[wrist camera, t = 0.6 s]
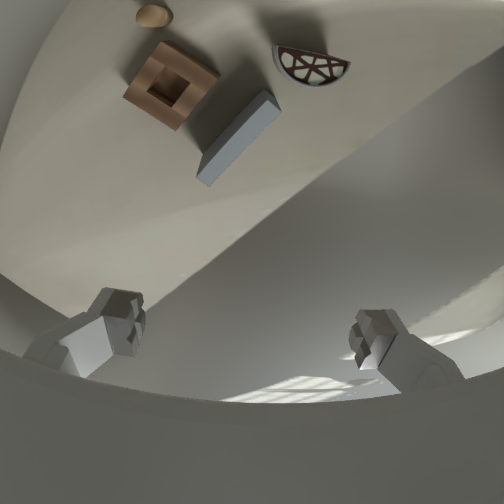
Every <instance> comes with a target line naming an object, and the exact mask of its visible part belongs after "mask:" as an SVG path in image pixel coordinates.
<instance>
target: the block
mask: <svg viewBox="0 0 504 504" xmlns="http://www.w3.org/2000/svg"><path fill="white" fill-rule="evenodd" d="M220 76H221V75H220V74H218V73H217V72H215V71H214V70H213V69H211V68H210V67H208V66H207V65H205V64H204V63H203V62H201V61H200V60H198V59H197V58H195V57H194V56H192V55H191V54H189V53H188V52H186V51H185V50H183V49H181V48H180V47H178V46H177V45H175V44H174V43H172V42H170V41H169V40H168V41H161V42H160V43H159V44H158V46H157V47H156V48H155V50H154V51H153V52H152V54H151V55H150V57H149V58H148V59H147V61H146V62H145V63H144V65H143V66H142V68H141V69H140V71H139V72H138V74H137V75H136V77H135V78H134V80H133V81H132V83H131V84H130V86H129V87H128V89H127V91H126V92H125V94H124V95H123V98H125V99H126V100H128V101H130V102H131V103H133V104H134V105H136V106H138V107H139V108H141V109H142V110H144V111H145V112H147V113H149V114H150V115H152V116H153V117H155V118H156V119H158V120H159V121H161V122H162V123H164V124H165V125H167V126H168V127H170V128H171V129H173V130H174V131H176V130H177V129H178V128H179V126H180V125H181V124H182V123H183V121H184V120H185V119H186V117H187V116H188V115H189V114H190V112H191V111H192V110H193V109H194V107H195V106H196V105H197V104H198V103H199V101H200V100H201V99H202V98H203V97H204V95H205V94H206V93H207V92H208V91H209V89H210V88H211V87H212V86H213V85H214V84H215V83H216V81H217V80H218V79H219V78H220Z"/></svg>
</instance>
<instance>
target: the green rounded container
mask: <svg viewBox="0 0 504 504" xmlns="http://www.w3.org/2000/svg"><path fill="white" fill-rule="evenodd" d="M272 56H273V60H274V63H275V65H276V67H277V69H278V70H279V72H280V73H281V74H282V75H283V76H284V77H285V78H286V79H288V80H289V81H291V82H292V83H294V84H296V85H299V86H302V87H306V88H322V87H327V86H330V85H332V84H335V83H336V82H338V81H339V80H341V79H342V78H343V77H344V76H345V74H346V73H347V72H348V70H349V68H350V65H351V62H349V61H346V60H343V59H339V58H336V57H333V56H329V55H325V54H321V53H317V52H312V51H308V50H303V49H298V48H293V47H287V46H281V45H277V46H276V45H272Z"/></svg>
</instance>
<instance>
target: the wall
mask: <svg viewBox="0 0 504 504" xmlns="http://www.w3.org/2000/svg"><path fill="white" fill-rule="evenodd" d="M281 113H282V111H281V109H280V107H279V104H278V102H277V100H276V98H275V97H274V96H272V95H271V94H270V93H269V92H268V91H266V90H265V89H264V88H263V89H262V90H261V91H260V92H259V93H258V94H257V95H256V96H255V97H254V99H253V100H252V101H251V102H250V103H249V104H248V105H247V106H246V107H245V108H244V109H243V110H242V111H241V112H240V113H239V114H238V115H237V116H236V117H235V119H234V120H233V121H232V122H231V123H230V124H229V125H228V126H227V127H226V128H225V130H224V131H223V132H222V133H221V134H220V135H219V136H218V137H217V139H216V140H215V141H214V142H213V143H212V144H211V145H210V147H209V148H208V149H207V150H206V151H205V152H204V154H203V156H202V159H201V162H200V165H199V168H198V172H197V175H196V179H198V180H199V181H201V182H202V183H204V184H205V185H207V186H208V187H210V186H211V185H212V184H213V183H214V182H215V181H216V180H217V179H218V177H219V176H220V175H221V174H222V173H223V172H224V171H225V170H226V169H227V168H228V167H229V166H230V164H231V163H232V162H233V161H234V160H235V159H236V158H237V157H238V156H239V155H240V154H241V153H242V152H243V151H244V150H245V149H246V148H247V147H248V146H249V145H250V144H251V143H252V142H253V141H254V139H255V138H256V137H257V136H258V135H259V134H260V133H261V132H262V131H263V130H264V129H265V128H266V127H267V126H268V125H269V124H270V123H271V122H273V121H274V120H275V119H276V118H277V117H278V116H279V115H280V114H281Z"/></svg>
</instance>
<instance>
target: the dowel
mask: <svg viewBox="0 0 504 504" xmlns="http://www.w3.org/2000/svg"><path fill="white" fill-rule="evenodd" d="M172 19H173V13H172V11H171V10H169V9H167V8H164V7H160V6H156V5H152V4H150V5H145V6H143V7H142V8H140V9H139V10H138V12H137V14H136V21H137V23H138V24H139V25H140V26H142V27H165V26H167V25H169V24H170V23H171V21H172Z"/></svg>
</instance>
